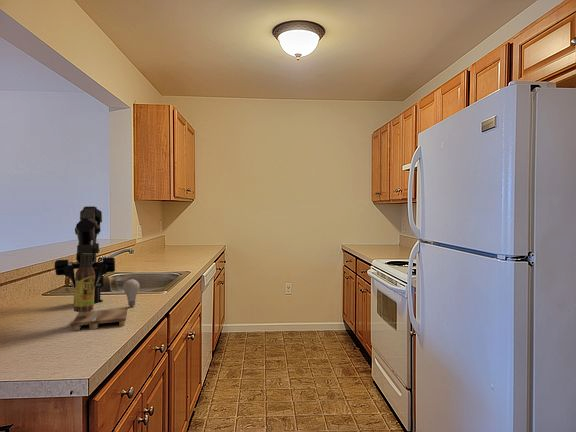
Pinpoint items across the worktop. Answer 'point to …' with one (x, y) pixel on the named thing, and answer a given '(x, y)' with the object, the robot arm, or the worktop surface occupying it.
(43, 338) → the worktop surface
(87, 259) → the sauce bottle
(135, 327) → the worktop surface
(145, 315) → the worktop surface
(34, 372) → the worktop surface
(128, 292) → the lightbulb
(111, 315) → the wooden pallet
